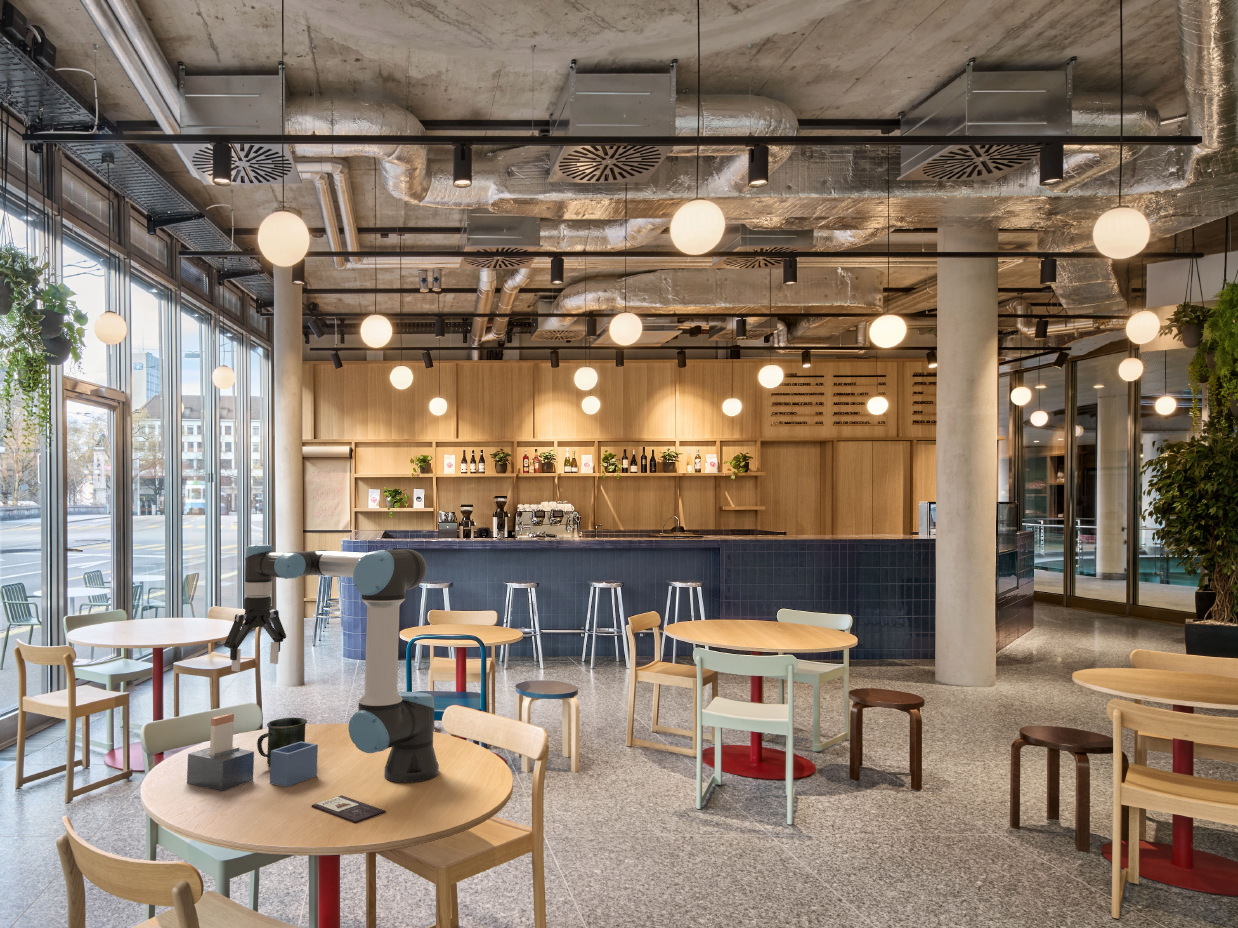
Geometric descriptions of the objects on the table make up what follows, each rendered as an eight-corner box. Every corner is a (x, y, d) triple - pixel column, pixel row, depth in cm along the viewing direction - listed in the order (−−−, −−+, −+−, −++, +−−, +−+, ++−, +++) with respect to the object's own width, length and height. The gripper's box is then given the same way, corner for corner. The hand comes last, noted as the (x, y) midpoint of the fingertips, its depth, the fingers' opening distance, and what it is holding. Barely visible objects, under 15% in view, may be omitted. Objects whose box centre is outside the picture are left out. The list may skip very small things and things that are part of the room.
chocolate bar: (355, 821, 200) (311, 804, 211) (355, 825, 200) (311, 808, 211) (385, 810, 208) (341, 795, 218) (385, 814, 208) (341, 798, 218)
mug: (313, 761, 247) (314, 721, 248) (267, 774, 236) (268, 731, 236) (292, 754, 254) (294, 715, 254) (247, 766, 242) (248, 724, 243)
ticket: (231, 771, 231) (233, 713, 232) (212, 778, 226) (215, 718, 226) (227, 770, 232) (230, 713, 232) (208, 777, 226) (211, 718, 227)
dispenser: (253, 780, 230) (254, 748, 230) (221, 791, 221) (223, 758, 221) (218, 772, 236) (219, 741, 236) (186, 783, 227) (188, 750, 228)
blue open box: (316, 775, 235) (317, 744, 235) (286, 786, 225) (288, 754, 226) (299, 772, 238) (300, 741, 238) (269, 783, 228) (270, 750, 228)
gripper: (282, 591, 262) (280, 659, 261) (212, 598, 240) (209, 672, 238) (299, 593, 258) (297, 661, 257) (230, 600, 236) (227, 675, 235)
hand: (255, 667), depth 248 cm, fingers open, 13 cm apart
